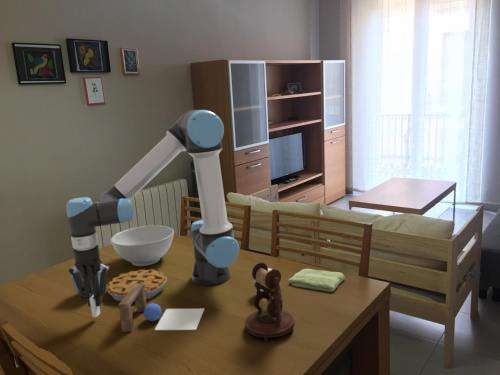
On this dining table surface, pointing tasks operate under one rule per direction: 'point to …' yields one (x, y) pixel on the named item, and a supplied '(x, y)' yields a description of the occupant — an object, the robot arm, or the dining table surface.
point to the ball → (152, 312)
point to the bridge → (125, 306)
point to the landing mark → (180, 319)
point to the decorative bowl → (143, 244)
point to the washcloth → (317, 279)
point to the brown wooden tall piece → (268, 305)
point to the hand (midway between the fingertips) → (96, 314)
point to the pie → (126, 281)
